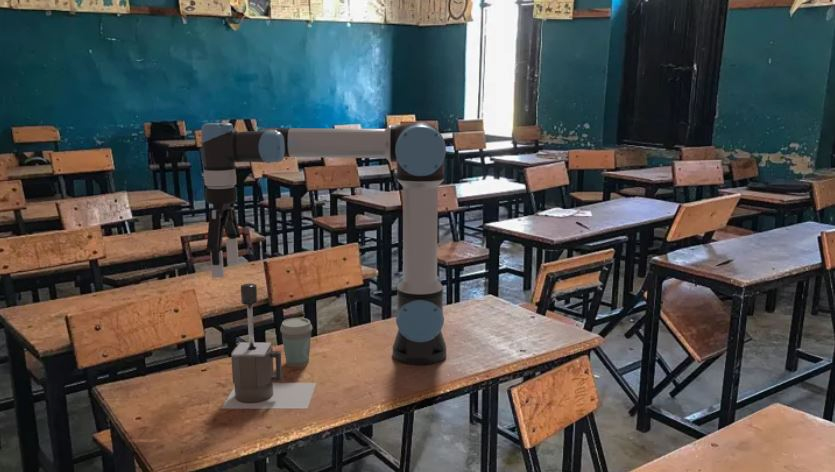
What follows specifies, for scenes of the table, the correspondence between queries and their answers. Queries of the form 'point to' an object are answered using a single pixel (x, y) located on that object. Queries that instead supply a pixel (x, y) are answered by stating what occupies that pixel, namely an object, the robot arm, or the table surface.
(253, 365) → the grey french press
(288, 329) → the coffee cup
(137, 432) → the table surface
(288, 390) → the mat
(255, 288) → the plunger
